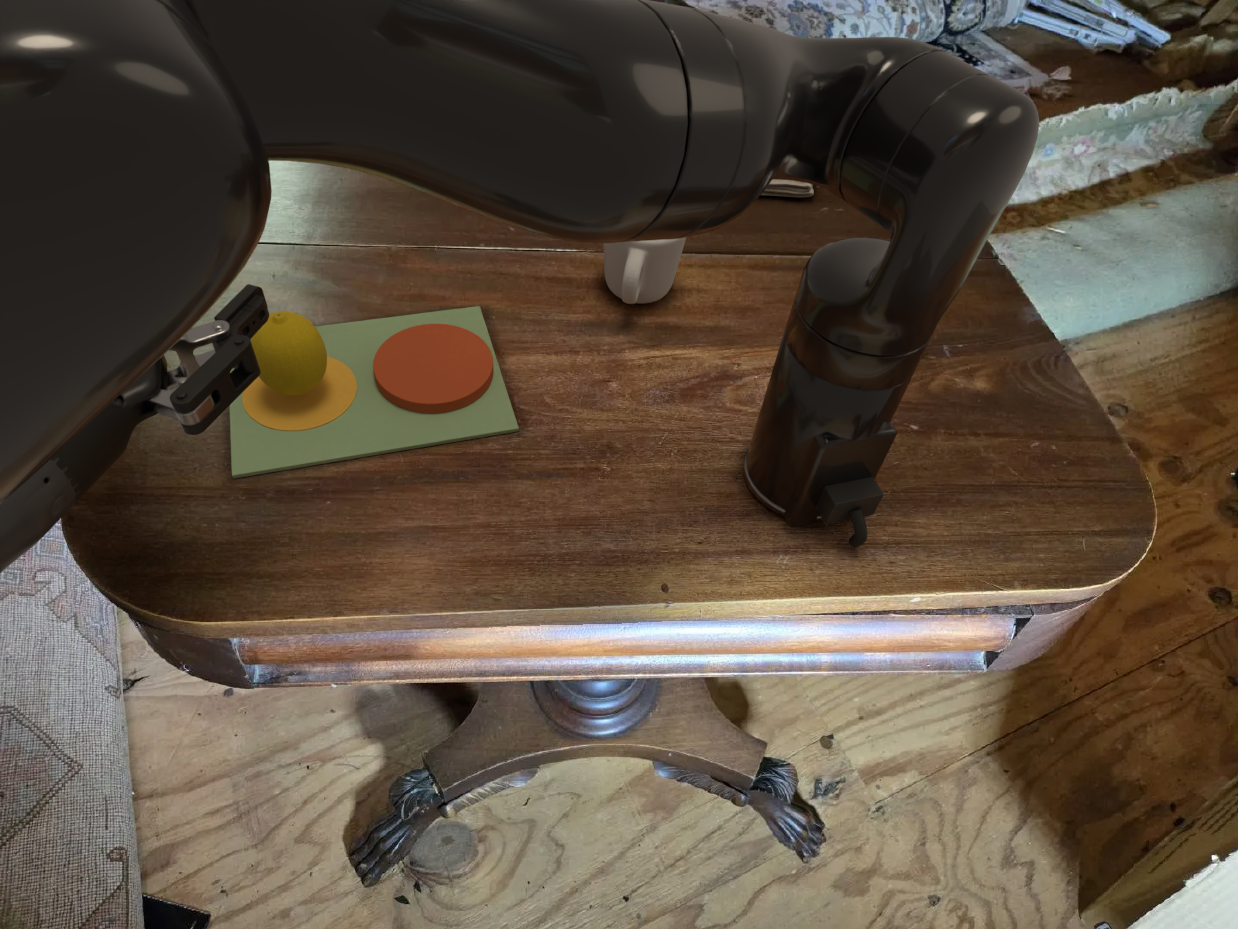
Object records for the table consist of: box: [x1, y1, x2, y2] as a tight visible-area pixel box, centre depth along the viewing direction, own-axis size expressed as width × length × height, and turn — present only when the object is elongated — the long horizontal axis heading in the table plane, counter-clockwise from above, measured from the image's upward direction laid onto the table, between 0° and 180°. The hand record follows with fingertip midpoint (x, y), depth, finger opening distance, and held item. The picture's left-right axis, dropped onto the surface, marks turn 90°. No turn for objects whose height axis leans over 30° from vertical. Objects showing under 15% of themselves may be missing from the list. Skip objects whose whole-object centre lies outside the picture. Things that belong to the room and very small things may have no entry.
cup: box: [602, 237, 687, 305], centre depth 80 cm, size 11×8×8 cm
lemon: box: [251, 310, 327, 395], centre depth 67 cm, size 6×6×8 cm
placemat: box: [229, 305, 520, 480], centre depth 71 cm, size 16×22×2 cm
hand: (198, 279), depth 53 cm, fingers open, 8 cm apart
